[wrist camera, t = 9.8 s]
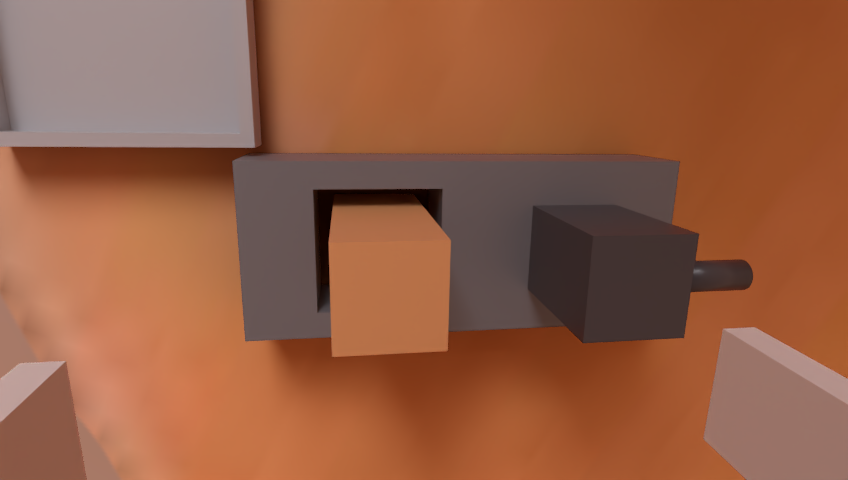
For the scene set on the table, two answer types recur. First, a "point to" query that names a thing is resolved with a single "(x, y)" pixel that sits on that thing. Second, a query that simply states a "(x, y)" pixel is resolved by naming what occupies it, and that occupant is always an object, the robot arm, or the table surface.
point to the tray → (128, 74)
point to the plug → (387, 276)
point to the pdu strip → (489, 241)
